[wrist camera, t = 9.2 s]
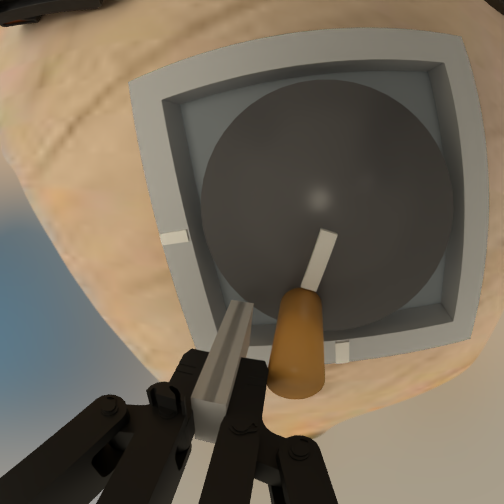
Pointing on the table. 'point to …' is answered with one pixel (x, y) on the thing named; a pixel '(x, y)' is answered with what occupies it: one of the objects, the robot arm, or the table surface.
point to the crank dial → (325, 216)
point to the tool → (39, 9)
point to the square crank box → (290, 72)
